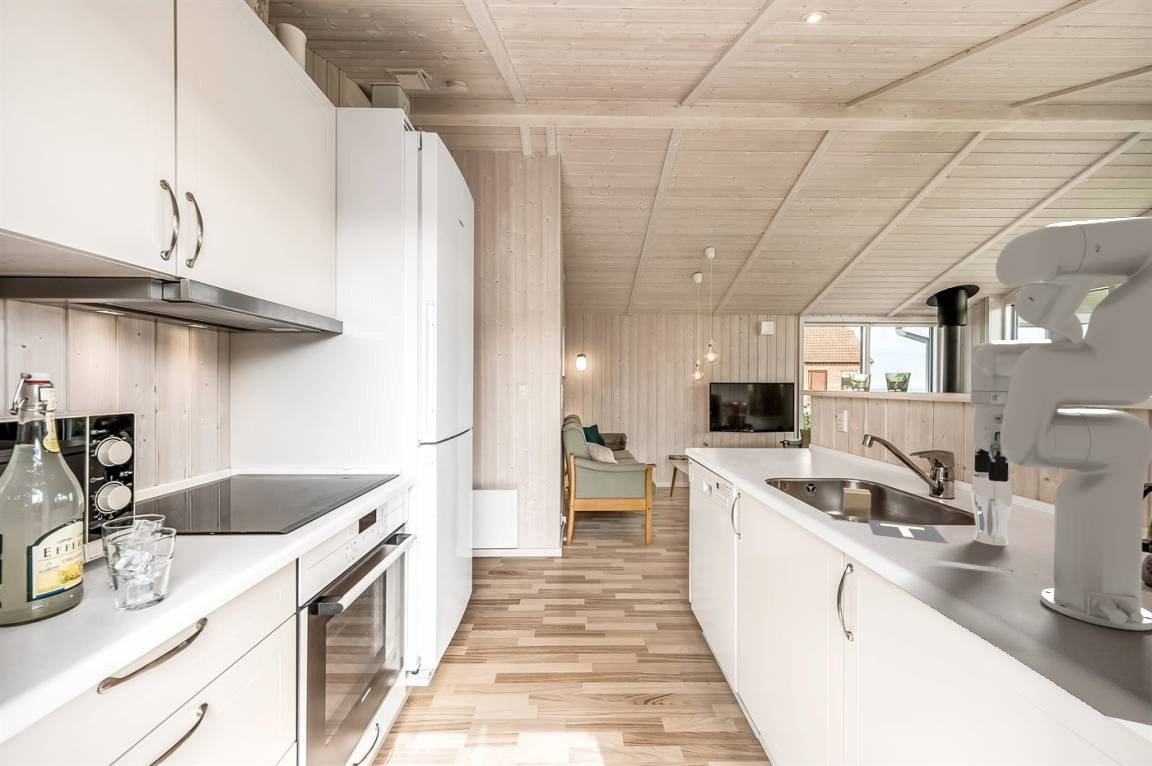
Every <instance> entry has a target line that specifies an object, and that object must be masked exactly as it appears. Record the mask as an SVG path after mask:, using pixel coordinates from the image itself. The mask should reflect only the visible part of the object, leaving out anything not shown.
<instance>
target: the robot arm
mask: <svg viewBox="0 0 1152 766" xmlns="http://www.w3.org/2000/svg"><path fill="white" fill-rule="evenodd" d="M995 275H996V278H997V280H998V281H999V283H1000V284H1001V285H1004V286H1006V287H1023V288H1022V289H1021V290H1020V293H1019V294H1018V296H1017V297H1016V299H1015V302H1014V311H1015V312H1016V314H1017V315H1018V317H1019V318H1021V319H1022V320H1023V321H1024V322H1025V323H1028V324H1030V325H1033V326H1035V327H1038V328H1041V329H1043V330H1046V331H1050V332H1051V333H1053V334H1052V336H1051V337H1050V338H1048V339H1020V340H1019V339H1015V340H1014V339H1013V340H992V341H991V340H990V341H988V342H984V343H979V344H975V345H974V346H973V347H972V348H971V349H972V350H971V367H970V368H971V371H970V372H971V375H970V377H971V379H970V406H975V408H974V420H973V444H974V446H975V449H974V469H973V471H974V472H975V473H985V474H987V475H988V479H989V480H990V481H1002V482H1007V481H1008V478H1009V462H1011V463H1012V464H1015V465H1017V466H1021V467H1025V468H1036V469H1037V468H1038V469H1052V470H1054V469H1055V470H1071V471H1070V473H1069V474H1068V475H1067V476H1066V477H1065V478H1064V479H1063V481H1062V482H1061V483H1060V484H1059V486H1058V487H1057V490H1056V492H1055V498H1054V526H1053V527H1054V528H1053V529H1054V533H1053V534H1054V536H1053V537H1054V538H1053V539H1054V540H1053V544H1054V546H1053V549H1054V550H1053V587H1052V588H1046V589H1043V590H1042V591H1041V592H1040V600H1041V602H1042V603H1043V604H1044V605H1045V606H1047V607H1049V608H1050V609H1051V610H1053V611H1055V612H1058V613H1059V614H1060V613H1061V614H1062V615H1064V616H1068V617H1071V618H1074V619H1076V620H1080V621H1083V622H1086V623H1090V624H1093V625H1097V626H1102V627H1107V628H1114V629H1117V630H1118V629H1119V630H1124V631H1125V630H1127V631H1150V630H1152V612H1151V611H1149V610H1147V609H1145V608H1143V607H1142V565H1143V564H1142V563H1143V561H1142V560H1143V557H1142V556H1143V511H1144V510H1143V508H1144V507H1143V506H1144V505H1143V504H1144V488H1145V482H1146V477H1147V472H1148V469H1149V465H1150V461H1151V459H1152V428H1151V427H1150V425H1149V424H1148V423H1147V422H1146V421H1145V420H1144V419H1142V418H1140V417H1138V416H1136V415H1134V414H1132V413H1129V412H1126V411H1120V410H1114V409H1105V408H1104V409H1103V408H1101V409H1100V408H1099V409H1098V408H1060V407H1064V406H1067V407H1068V406H1069V407H1070V406H1072V407H1077V406H1078V407H1082V406H1083V407H1125V406H1127V407H1128V406H1134V405H1135V406H1136V405H1139V404H1142V403H1144V402H1146V401H1147V400H1149V398H1151V396H1152V216H1140V217H1139V216H1136V217H1122V218H1114V219H1113V218H1112V219H1099V220H1098V219H1097V220H1085V221H1071V222H1060V223H1054V224H1049V225H1045V226H1042V227H1040V228H1037V229H1034V230H1032V231H1031V230H1030V231H1029V232H1026V233H1024V234H1020V235H1018V236H1016V237H1014V238H1012V239H1011V240H1010V241H1009V242H1007V244H1005V246H1004V247H1003V248H1002V250H1001V251H1000V253H999V254H998V256H997V259H996V263H995ZM1122 278H1123V279H1126V280H1125V282H1123V283H1122V284H1120V285H1119V286H1117V287H1116V288H1114V289H1113V290H1112V291H1110V292H1109V293H1108V294H1107V295H1106V296H1105V297H1104V298H1103V299H1102V300H1101V301H1100V302H1099V303H1098V304H1097V305H1096V306H1095V307H1094V309H1093V310H1092V312H1091V314H1090V316H1089V322H1088V325H1087V330H1086V332H1085V335H1084V330H1083V326H1082V323H1081V320H1080V318H1079V317H1078V315H1076V312H1077V311H1078V310H1079V308H1080V306H1081V305H1082V304H1083V302H1084V301H1085V299H1086V298H1087V296H1088V295H1089V294H1090V292H1091V291H1092V290H1093V288H1094V287H1095V285H1096V284H1097V283H1098V282H1099V280H1101V279H1102V280H1104V279H1105V280H1106V279H1122Z"/></svg>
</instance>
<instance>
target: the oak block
mask: <svg viewBox="0 0 1152 766" xmlns="http://www.w3.org/2000/svg"><path fill="white" fill-rule="evenodd" d="M842 500H843V501H842V512H843V515H844V516H848V517H856V518H866V519H871V518H872V513H871V512H872V511H871V510H872V494H871V492H870V490H869V489H862V488H852V487H843V489H842Z"/></svg>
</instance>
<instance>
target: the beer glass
mask: <svg viewBox="0 0 1152 766" xmlns="http://www.w3.org/2000/svg"><path fill="white" fill-rule="evenodd" d="M970 496H971V506H972V509H973V515H974V521H975V531H974V536H973V540H974V541H976V542H979V543H982V544H986V545H992V546H999V547H1001V546H1003V547H1004V546H1009V543H1010V542H1009V540H1008V531H1007V530H1008V524H1009V519H1010V515H1011V511H1012V506H1013V487H1012V478H1011V477H1008V481H1007V482H1002V481H990V480H989V479H988V473H985V474H981V473H977V474H976V473H975V474H972V482H971V493H970Z"/></svg>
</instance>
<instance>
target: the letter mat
mask: <svg viewBox="0 0 1152 766" xmlns="http://www.w3.org/2000/svg"><path fill="white" fill-rule="evenodd" d="M867 522H868V524H869V527H870V529H871V532H872V535H874V536H880V537H881V536H882V537H888V538H889V537H890V538H897V539H905V540H915V541H925V542H933V543H942V544H949V542H948V541H947V539H945V538H944V536H942V535H941V532H939V530H937V529H936V528H935V526H933V525H932V526H931V525H922V524H911V523H906V522H905V523H904V522H903V523H902V522H896V521H895V522H893V521H884V520H875V519H874V520H873V519H867ZM877 525H878V526H877Z"/></svg>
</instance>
